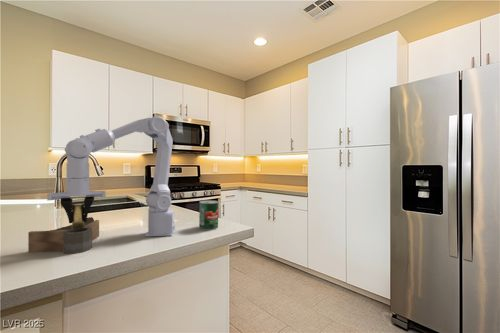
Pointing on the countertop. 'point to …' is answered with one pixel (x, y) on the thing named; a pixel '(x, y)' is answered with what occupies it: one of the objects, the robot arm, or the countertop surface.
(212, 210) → the canned tomato
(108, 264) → the countertop surface
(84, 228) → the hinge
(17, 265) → the countertop surface
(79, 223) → the pin
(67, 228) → the hand tool
